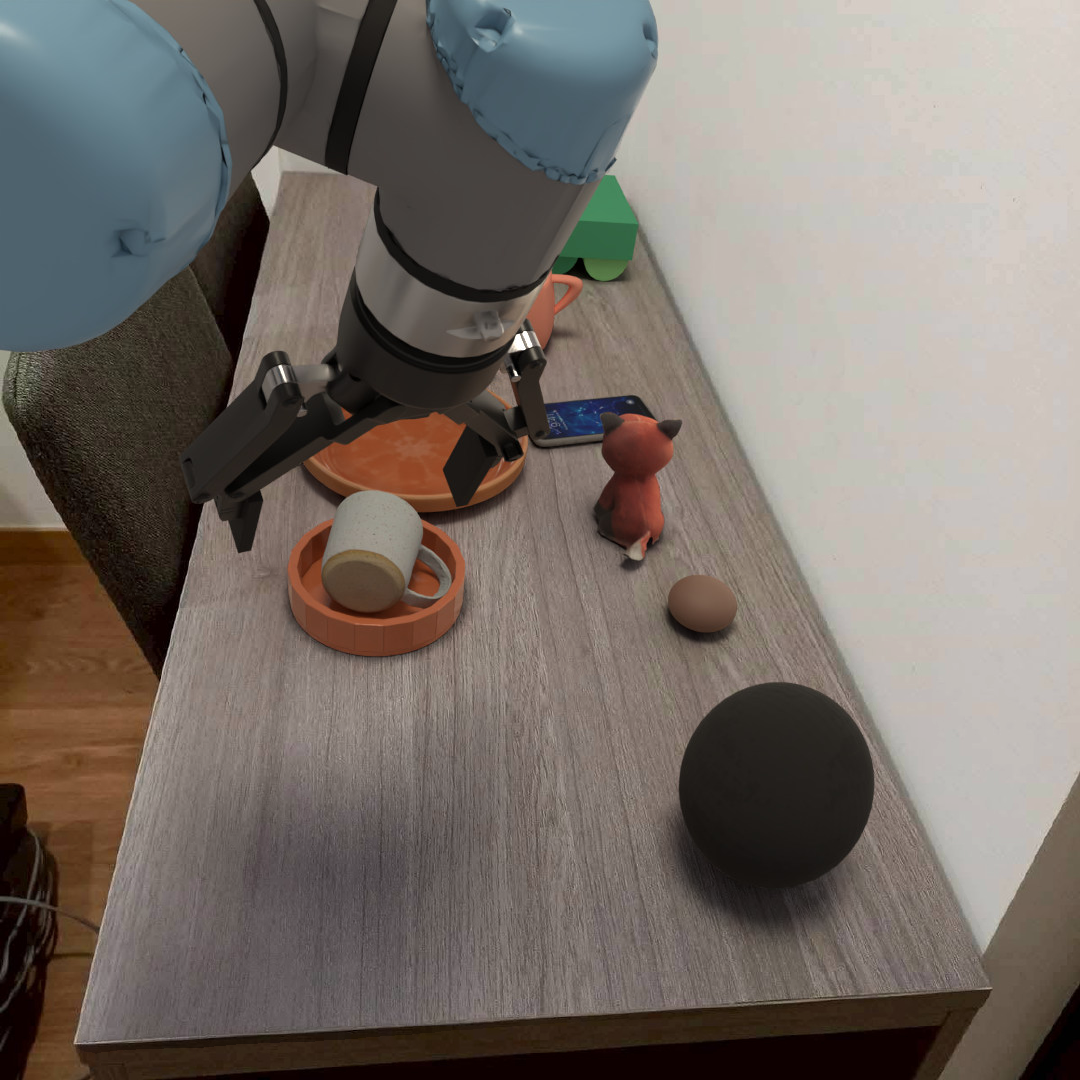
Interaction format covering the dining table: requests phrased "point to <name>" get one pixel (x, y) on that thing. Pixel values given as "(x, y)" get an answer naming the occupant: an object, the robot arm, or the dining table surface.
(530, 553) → the dining table surface
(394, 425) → the saucer
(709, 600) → the egg
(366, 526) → the ceramic mug
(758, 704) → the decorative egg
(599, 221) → the toy tank
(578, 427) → the smartphone
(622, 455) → the stuffed fox
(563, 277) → the teapot
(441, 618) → the holder
